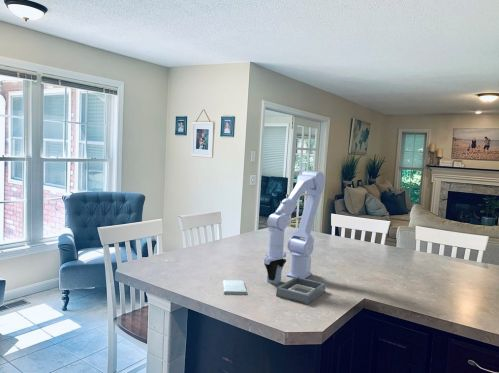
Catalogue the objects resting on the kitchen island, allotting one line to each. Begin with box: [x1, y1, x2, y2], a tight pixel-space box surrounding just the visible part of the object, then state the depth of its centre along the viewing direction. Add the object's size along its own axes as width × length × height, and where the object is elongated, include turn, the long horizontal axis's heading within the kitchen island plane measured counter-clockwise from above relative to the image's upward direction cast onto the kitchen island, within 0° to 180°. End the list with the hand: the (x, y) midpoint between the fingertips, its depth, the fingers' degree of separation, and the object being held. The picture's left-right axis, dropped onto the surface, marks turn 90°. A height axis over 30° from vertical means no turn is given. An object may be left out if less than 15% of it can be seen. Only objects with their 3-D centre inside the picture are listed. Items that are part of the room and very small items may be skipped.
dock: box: [275, 277, 327, 305], centre depth 140 cm, size 16×12×3 cm
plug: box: [266, 265, 283, 285], centre depth 152 cm, size 4×4×7 cm
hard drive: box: [222, 279, 248, 295], centre depth 142 cm, size 2×8×12 cm
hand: (274, 278), depth 152 cm, fingers closed on plug, 4 cm apart
